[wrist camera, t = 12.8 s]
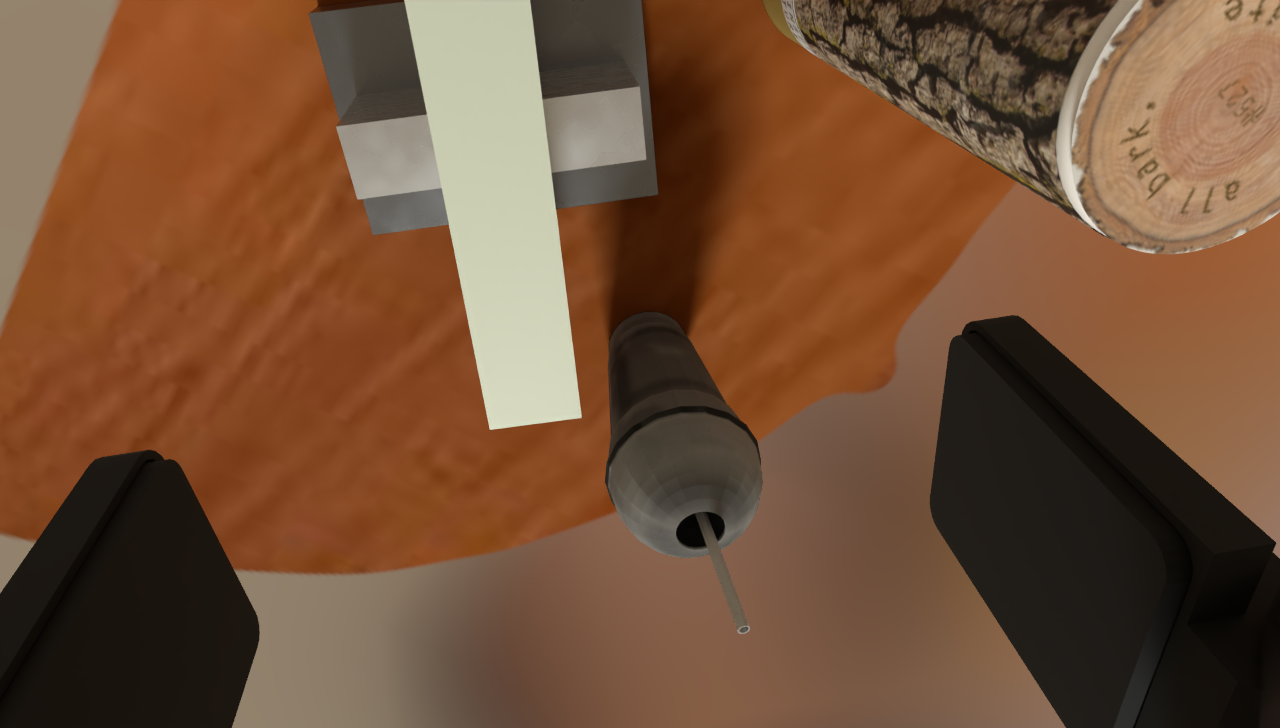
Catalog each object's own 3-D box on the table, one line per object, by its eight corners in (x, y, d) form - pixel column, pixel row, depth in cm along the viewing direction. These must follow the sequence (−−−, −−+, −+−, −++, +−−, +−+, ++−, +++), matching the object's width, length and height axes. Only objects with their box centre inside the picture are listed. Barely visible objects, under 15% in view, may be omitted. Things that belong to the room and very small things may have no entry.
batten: (386, -174, 27) (368, -179, 24) (506, -182, 27) (506, -188, 24) (491, 380, 39) (489, 429, 35) (575, 369, 39) (581, 417, 36)
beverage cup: (655, 264, 44) (746, 510, 28) (733, 346, 48) (856, 609, 31) (558, 345, 46) (587, 623, 29) (639, 418, 50) (708, 704, 33)
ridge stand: (318, 6, 36) (280, 34, 30) (632, -32, 37) (656, -12, 31) (378, 219, 41) (356, 279, 35) (652, 181, 42) (675, 233, 36)
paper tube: (824, 74, 40) (1173, 307, 19) (725, -18, 37) (1005, 136, 16) (926, -46, 38) (1448, 68, 17) (827, -154, 35) (1308, -179, 14)
